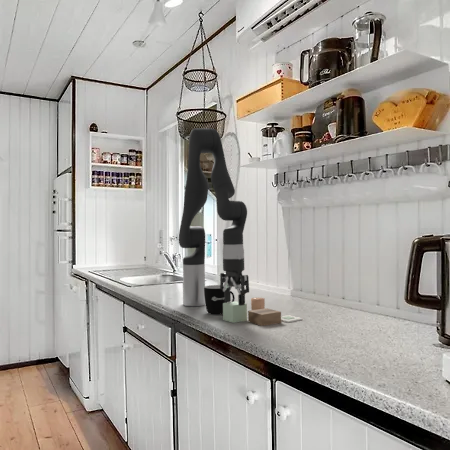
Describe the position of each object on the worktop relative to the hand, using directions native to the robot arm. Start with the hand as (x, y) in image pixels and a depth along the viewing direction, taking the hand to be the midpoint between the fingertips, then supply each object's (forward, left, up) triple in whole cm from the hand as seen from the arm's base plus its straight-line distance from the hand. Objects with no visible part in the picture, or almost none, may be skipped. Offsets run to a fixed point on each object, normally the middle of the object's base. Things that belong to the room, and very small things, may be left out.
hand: (234, 303), depth 150 cm
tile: (+11, +15, -6) cm, 20 cm away
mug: (-14, +3, -6) cm, 16 cm away
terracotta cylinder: (-2, +12, -6) cm, 14 cm away
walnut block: (+9, +6, -6) cm, 12 cm away
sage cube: (0, 0, -6) cm, 6 cm away
